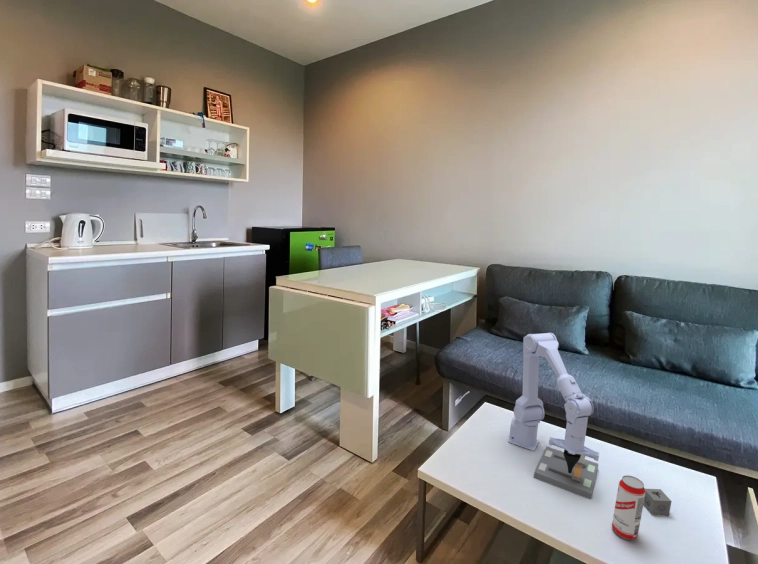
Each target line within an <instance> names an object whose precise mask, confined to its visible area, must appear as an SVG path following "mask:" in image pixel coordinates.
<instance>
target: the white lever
mask: <svg viewBox="0 0 758 564" xmlns="http://www.w3.org/2000/svg"><path fill="white" fill-rule="evenodd" d="M585 459H586V456H584V455H581V457H580V459H579V461H578V462H577V463H576V464H577V465H580V466H582V467H584V468H585V464H586V461H585Z"/></svg>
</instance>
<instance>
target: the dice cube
mask: <svg viewBox="0 0 758 564" xmlns="http://www.w3.org/2000/svg"><path fill="white" fill-rule="evenodd" d="M644 489H645V498H644V504H643V507H644V508H645V509H646V510H647V511H648V513H649V514H650V515H651V516H662V517H663V516H665V517H666V516H667V517H669V516H670V511H671V507H672V500H671V499H670V498H669V496H668V495H666V494H665V492H664V491H663V490H662V489H660V488H644Z"/></svg>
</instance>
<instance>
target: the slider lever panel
mask: <svg viewBox="0 0 758 564" xmlns="http://www.w3.org/2000/svg"><path fill="white" fill-rule="evenodd" d="M563 453H564V451H561V450H559V449H556V448H554V447H550V446H547V445H546V446H545V448H544V451H543V453H542V455H541V457H540V459H539V461H538V463H537V466H536V467H535V470H534V472H533V478H534V479H537V480H539V481H542V482H545V483H547V484H550V485H551V486H554V487H555V486H556V487H557V488H560V489H563V490H565V491H568V492H571V493H574V494H577V495H579V496H581V497H583V498H586V499H590V500H592V496H593V495H592V494H593V492H594V491H593V490H594V486H595V481H596V477H597V473H598V469H599V463H598V462H596V461H595V462H594V461H591V460H588V459H586V458H585V461H586V464H585V468H584V467H582V472H581V475H583V476H582V481H581V482H579V481H576V480H573V479H572V474H573V472H574V468H575V466H574V467H573V469H572V473H568V466H567V462H566V459H565V457H564V454H563Z"/></svg>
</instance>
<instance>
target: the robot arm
mask: <svg viewBox="0 0 758 564" xmlns="http://www.w3.org/2000/svg"><path fill="white" fill-rule="evenodd" d="M522 341H523V343H522V348H523V349H522V354H523V362H522V363H523V367H522V370H523V371H522V395H521V396H520V397H518V398H517V399H516V400H515V406H514V408H513V417H512V419H511V422H510V427H509V436H508V437H509V438H508V443H509V444H513V445H515V446H518V447H522V448H523V449H527V450H530V451H533V452H534V451H535V450H536V448H537V446H538V444H539V442H540V440H539V439H537V437H538V429H539V424H540V423H541V421H542V420H544V418H545V412H546V411H545V408H544V402H543V401H542V400H541V399H540V398H539V372H540V369H539V368H540V357H542V358H545V360H546V361H547V362H548V364H549V366H550V368H551V369H552V371H553V372H554V374H555V376H556V377H557V379H556V385H557V387H558V390H559V391H560V393H561V395H562V398H563V399H564V402H565V403H563V404H564V410H565V418H566V427H565V433H564V439H561V438H556V437H549V439H548V446H551V447H552V446H554V447H557V448H560V449H563V452H564V453H563V454H564V457H565V459H566V462H567V466H568V473H572V469H573V467H574V466H575V464H576V463H577V462H578V461H579V459H580V457H581V455H584V456H585V457H587V458H590V459H593V460H594V461H595V462H599V458H600V452H598V451H595V450H593V449H591V448H589V447H587V446H585V442H586V441H585V440H586V436H587V435H586V434H587V428H588V420H589V416H592V415H593V414H594V409H595V407H594V404H593V401H592V399H590V398H589V397H588V396H586V394H584V393H583V392H582V390H581V388H580V386H579V385H578V383H577V381H576V379H575V377H574V376H573V375H571V374H569V373H568V370H567V368H566V366H565V364H564V362H563V359H562V357H561V354H560V352H559V350H558V349H559V347H560V344H559V341H558V339H557V337H556V335H555V334H554V333H553V332H546V333H545V332H544V333H528V334H527V335H525V336H523V340H522Z"/></svg>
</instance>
